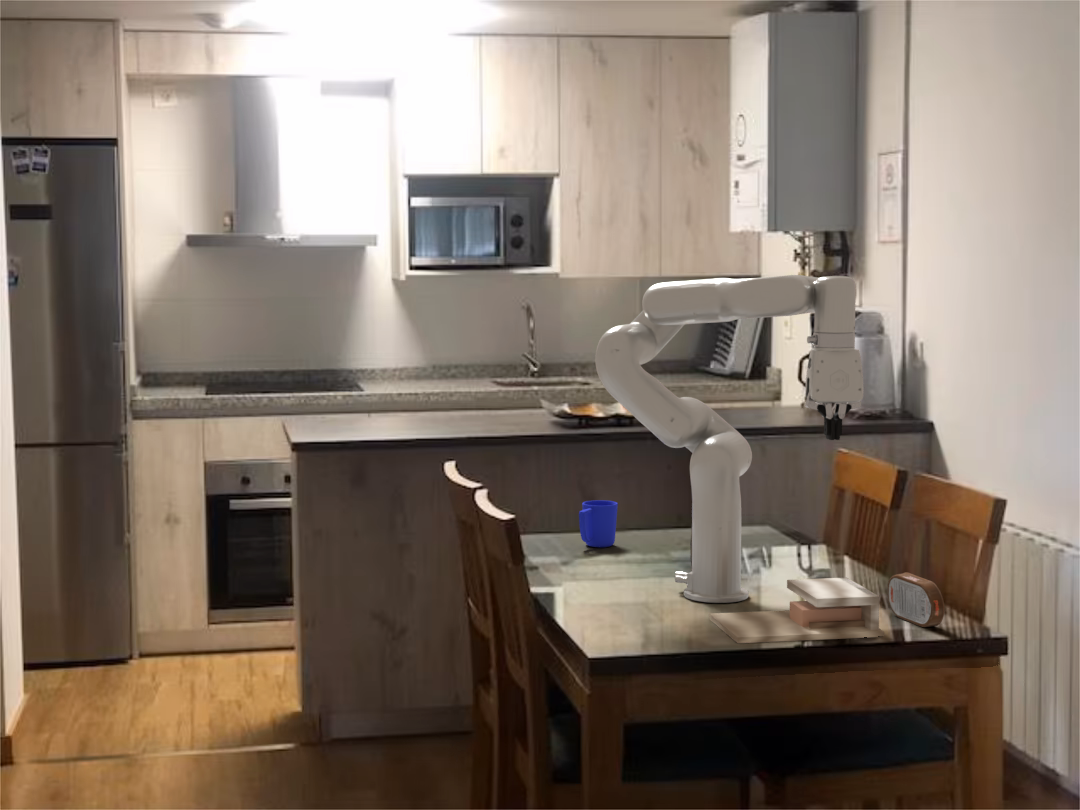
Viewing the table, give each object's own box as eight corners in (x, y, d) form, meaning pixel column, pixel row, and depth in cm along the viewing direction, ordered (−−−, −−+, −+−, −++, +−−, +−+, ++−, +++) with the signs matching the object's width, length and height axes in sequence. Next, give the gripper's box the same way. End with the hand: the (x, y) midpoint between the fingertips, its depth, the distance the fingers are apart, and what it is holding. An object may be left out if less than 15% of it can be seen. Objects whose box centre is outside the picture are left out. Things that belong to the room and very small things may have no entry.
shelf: (737, 643, 260) (738, 603, 260) (709, 618, 278) (709, 581, 277) (883, 636, 265) (884, 597, 264) (846, 613, 282) (847, 576, 282)
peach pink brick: (847, 615, 276) (847, 599, 276) (861, 624, 269) (861, 607, 269) (789, 617, 275) (789, 601, 274) (802, 626, 268) (802, 610, 267)
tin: (945, 630, 269) (946, 584, 268) (930, 632, 268) (931, 585, 267) (898, 612, 283) (899, 568, 282) (883, 613, 282) (884, 569, 281)
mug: (566, 549, 346) (566, 505, 345) (594, 541, 355) (594, 499, 355) (596, 553, 341) (596, 509, 340) (624, 544, 351) (624, 502, 350)
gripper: (802, 343, 278) (801, 442, 280) (879, 342, 281) (878, 440, 283) (789, 341, 286) (788, 437, 288) (864, 340, 288) (863, 436, 290)
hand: (832, 439), depth 285 cm, fingers closed
